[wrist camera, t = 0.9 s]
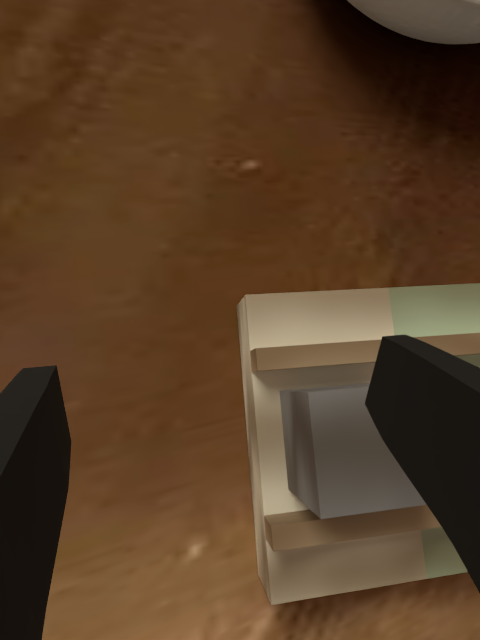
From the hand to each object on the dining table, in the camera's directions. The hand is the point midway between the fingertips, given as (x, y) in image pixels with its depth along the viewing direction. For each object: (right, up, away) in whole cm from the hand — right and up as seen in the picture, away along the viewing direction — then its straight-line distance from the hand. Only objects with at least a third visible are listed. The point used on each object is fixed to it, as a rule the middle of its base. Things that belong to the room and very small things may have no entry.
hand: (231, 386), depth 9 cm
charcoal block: (+4, -4, +11) cm, 12 cm away
